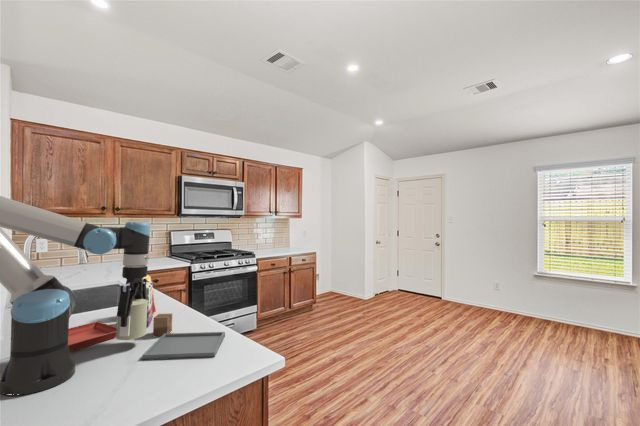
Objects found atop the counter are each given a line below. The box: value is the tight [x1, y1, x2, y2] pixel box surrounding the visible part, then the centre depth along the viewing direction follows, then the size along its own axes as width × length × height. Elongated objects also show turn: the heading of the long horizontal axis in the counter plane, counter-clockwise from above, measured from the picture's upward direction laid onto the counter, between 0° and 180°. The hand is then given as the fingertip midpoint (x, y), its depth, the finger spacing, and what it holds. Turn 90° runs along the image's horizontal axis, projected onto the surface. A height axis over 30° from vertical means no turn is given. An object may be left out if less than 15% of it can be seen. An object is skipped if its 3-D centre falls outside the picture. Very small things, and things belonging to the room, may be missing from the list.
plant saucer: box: [68, 321, 117, 353], centre depth 110 cm, size 18×18×3 cm
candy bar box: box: [146, 281, 153, 328], centre depth 128 cm, size 11×5×16 cm, turn 22°
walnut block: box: [152, 313, 173, 337], centre depth 117 cm, size 5×5×7 cm
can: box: [114, 299, 148, 341], centre depth 106 cm, size 9×9×12 cm
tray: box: [141, 331, 226, 361], centre depth 106 cm, size 18×22×2 cm
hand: (131, 330), depth 106 cm, fingers closed on can, 9 cm apart
